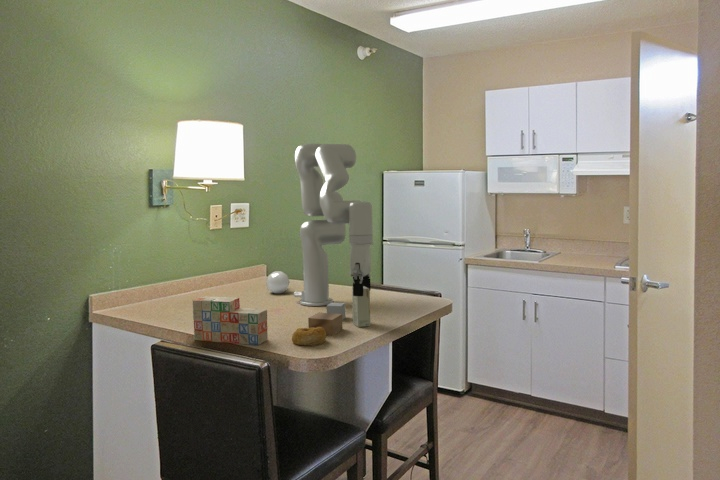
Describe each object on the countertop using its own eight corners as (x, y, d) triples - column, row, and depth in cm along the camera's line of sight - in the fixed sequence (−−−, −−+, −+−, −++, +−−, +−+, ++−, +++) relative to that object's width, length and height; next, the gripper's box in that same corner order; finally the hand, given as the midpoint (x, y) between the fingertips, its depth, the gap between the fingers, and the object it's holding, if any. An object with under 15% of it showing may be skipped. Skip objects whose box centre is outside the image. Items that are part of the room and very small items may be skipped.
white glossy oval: (274, 299, 239) (276, 296, 254) (293, 284, 240) (294, 282, 254) (260, 281, 238) (263, 279, 253) (280, 266, 239) (281, 265, 254)
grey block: (326, 320, 197) (326, 305, 196) (331, 316, 202) (331, 302, 201) (341, 320, 196) (341, 306, 195) (345, 317, 201) (345, 303, 200)
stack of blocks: (268, 340, 173) (267, 299, 172) (258, 345, 168) (257, 303, 166) (205, 334, 180) (204, 295, 179) (193, 340, 174) (192, 299, 173)
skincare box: (370, 326, 187) (370, 288, 186) (357, 327, 186) (357, 289, 185) (365, 321, 194) (364, 285, 192) (352, 322, 192) (351, 286, 191)
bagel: (324, 336, 177) (323, 321, 177) (328, 346, 166) (327, 330, 166) (291, 338, 176) (290, 322, 175) (292, 348, 165) (292, 331, 164)
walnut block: (308, 334, 180) (308, 318, 180) (319, 327, 188) (318, 312, 187) (332, 336, 177) (332, 319, 177) (342, 329, 185) (342, 314, 184)
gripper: (356, 238, 196) (357, 288, 198) (342, 242, 180) (343, 298, 181) (378, 238, 194) (379, 289, 196) (366, 242, 178) (367, 298, 179)
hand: (362, 293), depth 188 cm, fingers open, 9 cm apart
